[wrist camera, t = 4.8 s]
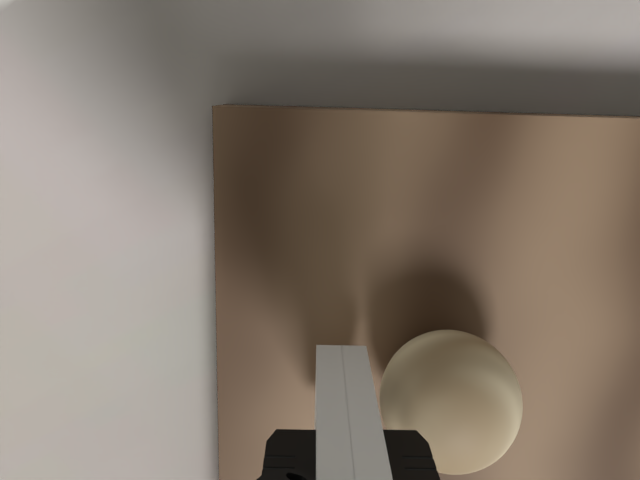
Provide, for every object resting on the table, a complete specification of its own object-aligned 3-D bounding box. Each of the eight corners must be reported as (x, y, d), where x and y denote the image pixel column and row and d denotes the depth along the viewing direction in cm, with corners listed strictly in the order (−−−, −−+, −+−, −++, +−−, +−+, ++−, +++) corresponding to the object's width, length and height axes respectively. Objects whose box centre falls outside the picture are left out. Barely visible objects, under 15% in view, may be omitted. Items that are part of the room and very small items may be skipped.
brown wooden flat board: (943, 125, 19) (1035, 130, 17) (823, 527, 23) (883, 578, 21) (225, 104, 19) (212, 106, 16) (230, 517, 23) (220, 568, 20)
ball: (503, 310, 18) (555, 371, 14) (489, 423, 19) (535, 509, 15) (376, 307, 18) (393, 367, 14) (369, 421, 19) (384, 506, 15)
